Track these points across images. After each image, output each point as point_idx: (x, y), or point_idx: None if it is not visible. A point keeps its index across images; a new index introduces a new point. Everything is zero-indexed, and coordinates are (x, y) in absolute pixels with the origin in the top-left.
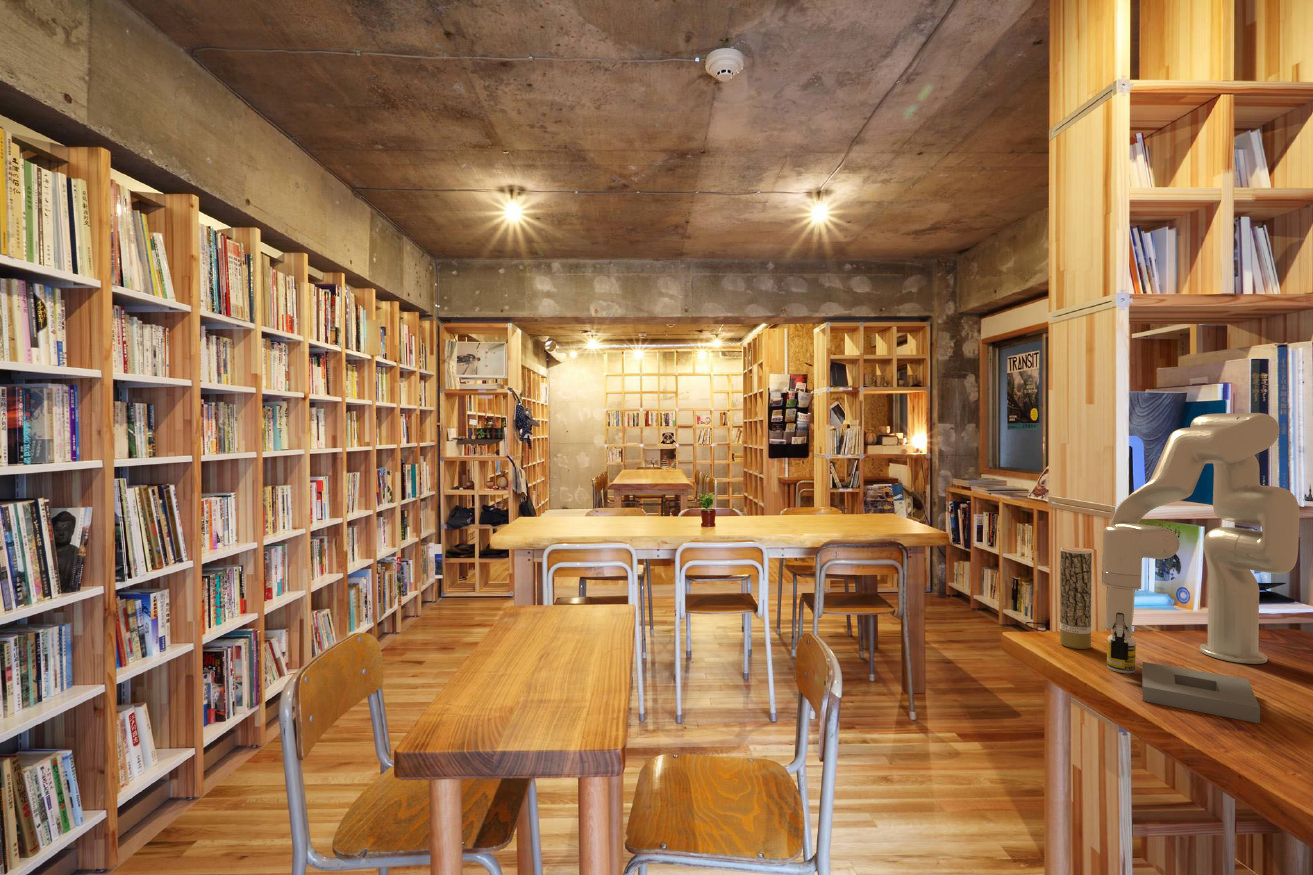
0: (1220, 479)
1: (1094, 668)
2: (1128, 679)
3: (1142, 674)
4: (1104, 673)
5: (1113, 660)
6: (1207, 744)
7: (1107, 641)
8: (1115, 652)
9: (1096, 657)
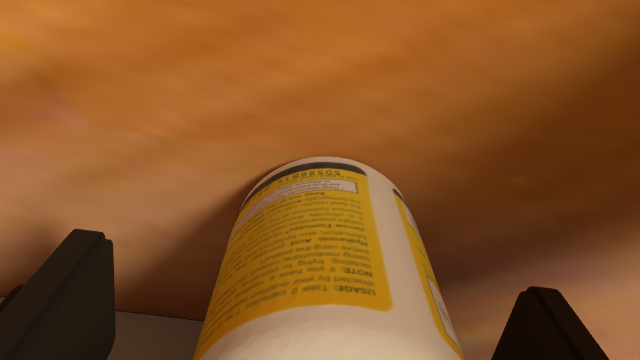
0: None
1: (262, 55)
2: (119, 246)
3: (134, 344)
4: (163, 115)
5: (241, 226)
6: None
7: (344, 290)
8: (7, 301)
9: (603, 108)
